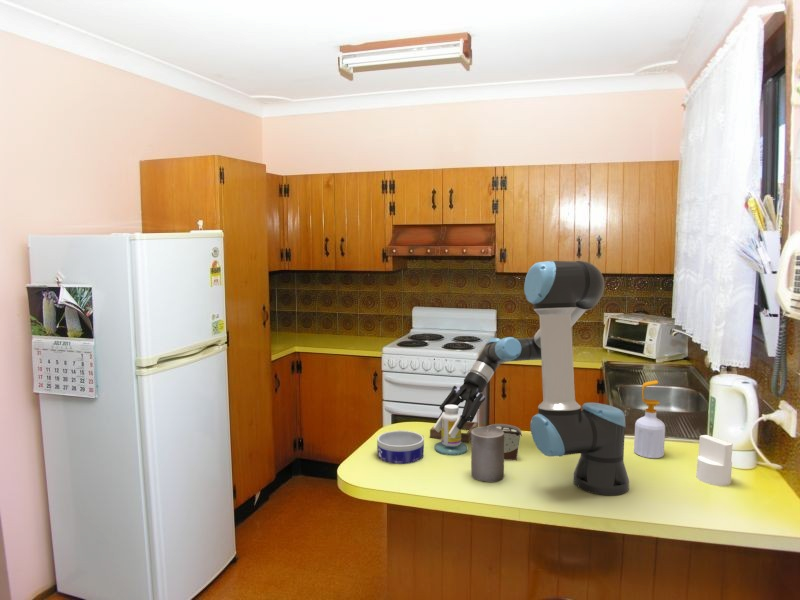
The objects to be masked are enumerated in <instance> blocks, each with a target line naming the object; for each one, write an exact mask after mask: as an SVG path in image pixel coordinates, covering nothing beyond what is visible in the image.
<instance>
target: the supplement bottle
mask: <svg viewBox="0 0 800 600" xmlns="http://www.w3.org/2000/svg"><path fill="white" fill-rule="evenodd" d="M444 410H445V413H443V414H442V429H441V430H442V434H441V439H440V440H441V441H442V444H443V445H446V446H452V447H453V446H458V445H460V444H461V433H462V429H461V430H459V432H458V433H457V435H456V436H455V438H452V437H451V436H450V435H449V434H448V433H449V432H450V430H451V429H452V427H453V425H454V424H455V422H456V421H457V419H458V417H460V415H461V414H460V413H459V405H458V406H457V405H445V409H444ZM460 418H461V417H460ZM441 441H440V442H441Z"/></svg>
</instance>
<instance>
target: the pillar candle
mask: <svg viewBox="0 0 800 600" xmlns="http://www.w3.org/2000/svg"><path fill="white" fill-rule="evenodd" d="M488 426H489V425H487V426H478V427H477V428H474V429H473V430H472V432H471V436H472V437H471V440H470V441H471V443H470V444H471V445H470V446H471V452H470V453H471V455H470V456H471V457H470V459H471V461H470V463H471V464H470V468H471V469H470V472H471V473H470V475H471V477H472V478H473V479H474V480H476V481H480V482H481V481H482V482H484V483H495V482H499V481H501V480H503V478H504V477H505V460H504V432H503V430H501V429H499V428H496V427H488Z"/></svg>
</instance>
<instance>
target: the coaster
mask: <svg viewBox="0 0 800 600" xmlns="http://www.w3.org/2000/svg"><path fill="white" fill-rule="evenodd" d="M434 451H435V452H436V453H438V454H440V455H444V456H445V455H446V456H460V455H463V454H466V453H467V452H468V445H467V443H465V442H461V444H460V445H458V446H453V447H452V446H446V445H443V444H442V441H439V442H437V443H435V444H434Z"/></svg>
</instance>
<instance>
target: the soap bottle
mask: <svg viewBox="0 0 800 600" xmlns="http://www.w3.org/2000/svg"><path fill="white" fill-rule="evenodd" d="M655 385H656V386H657V385H659V382H658V380H657V379H656V380H655V379H654V380H650V381H645V382H643V384H642V386H641V399H642V402H643V403H644V404H646V406H647V407H648V408H645V412H644V413H645V414H644V416H641V417H640V418H637V419H636V421H635V424H634V440H633V441H634V442H633V451H634V453H635V454H636V455H638V456H640V457H643V458H647V459H660V458H663V457H664V454H665V439H666V438H665V437H666V425H665V423H664V421H662V420H661V419H659V418H658V417H657V409H655V407H656V406H657V405H660V401H659V400H657V399H646V398H645V389H646V387H650V386H655Z"/></svg>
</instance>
